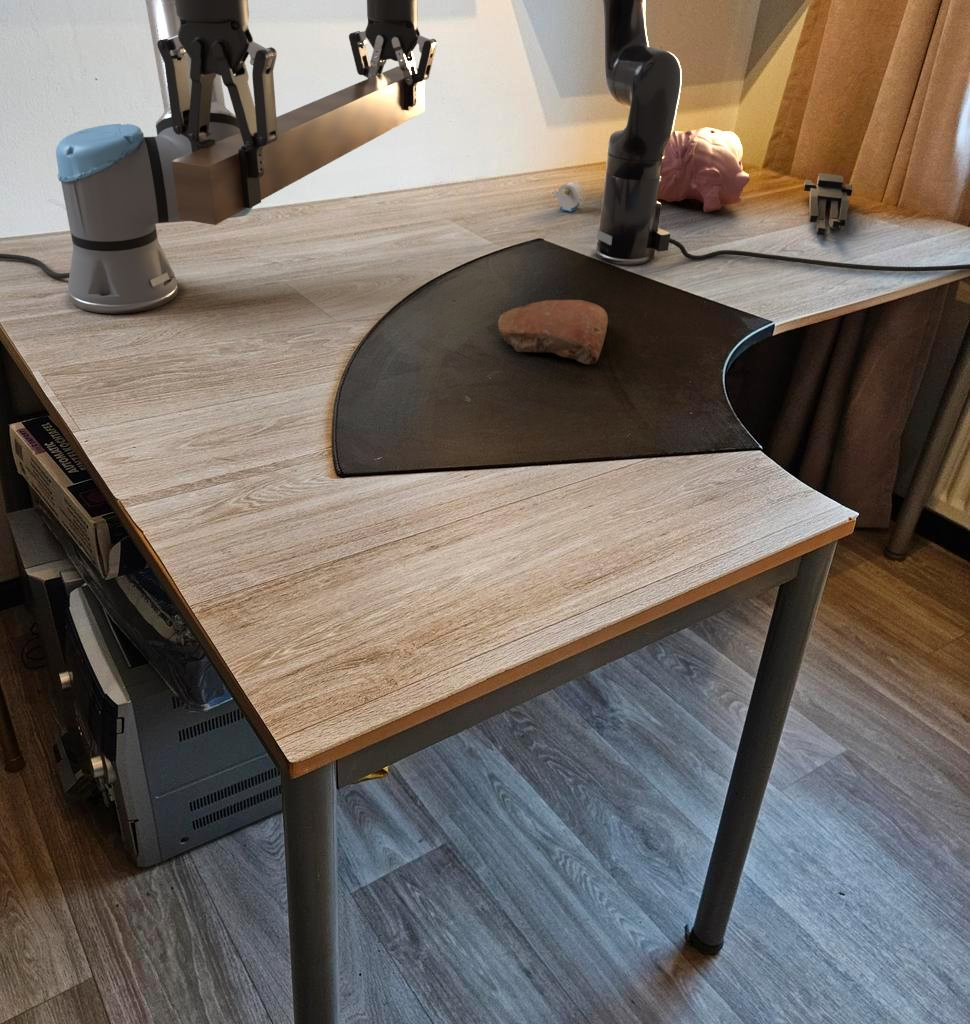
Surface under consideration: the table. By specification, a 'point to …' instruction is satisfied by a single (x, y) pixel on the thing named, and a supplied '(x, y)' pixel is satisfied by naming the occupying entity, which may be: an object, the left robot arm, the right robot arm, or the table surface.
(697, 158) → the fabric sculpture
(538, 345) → the ceramic shard
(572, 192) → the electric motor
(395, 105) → the bar
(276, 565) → the table surface
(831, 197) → the toy
